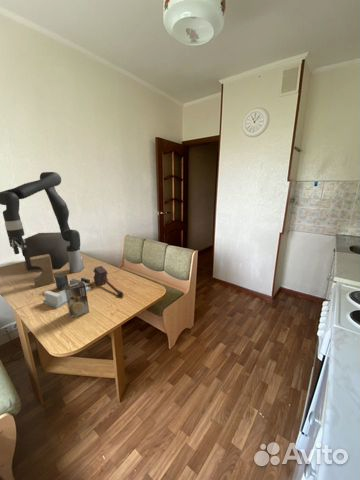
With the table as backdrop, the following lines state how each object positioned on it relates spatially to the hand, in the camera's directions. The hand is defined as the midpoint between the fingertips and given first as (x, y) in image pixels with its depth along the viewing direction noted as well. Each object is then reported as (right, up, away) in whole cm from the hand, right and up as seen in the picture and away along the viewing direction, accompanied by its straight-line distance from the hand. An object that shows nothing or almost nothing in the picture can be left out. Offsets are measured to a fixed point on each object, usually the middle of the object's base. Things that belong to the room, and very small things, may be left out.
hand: (21, 254), depth 118 cm
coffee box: (+40, -30, -11) cm, 51 cm away
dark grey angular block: (-18, -12, +56) cm, 60 cm away
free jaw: (+29, -22, +13) cm, 39 cm away
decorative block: (0, -22, +20) cm, 30 cm away
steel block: (+16, -23, +14) cm, 32 cm away
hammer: (+47, -23, +14) cm, 55 cm away
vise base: (+25, -26, +5) cm, 36 cm away
